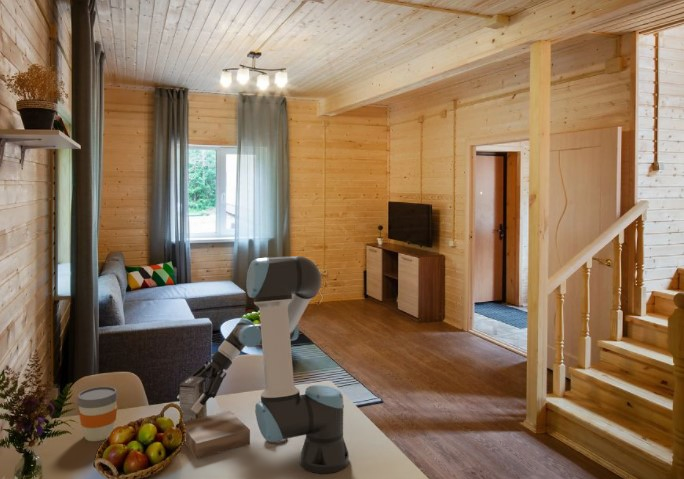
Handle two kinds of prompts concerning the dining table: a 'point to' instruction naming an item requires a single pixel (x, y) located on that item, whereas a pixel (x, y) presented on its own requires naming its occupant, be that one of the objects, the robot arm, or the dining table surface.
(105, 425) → the reusable coffee cup
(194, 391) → the coffee box
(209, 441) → the walnut plinth
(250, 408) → the dining table surface
